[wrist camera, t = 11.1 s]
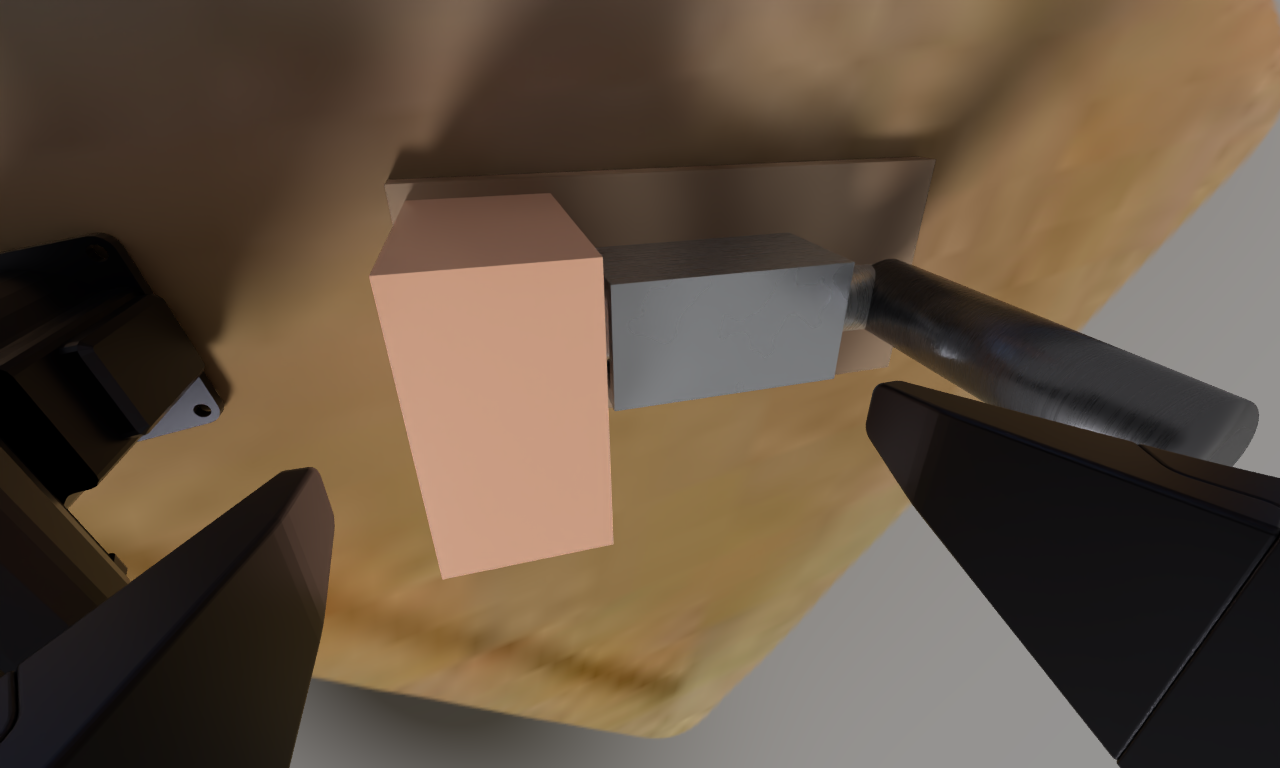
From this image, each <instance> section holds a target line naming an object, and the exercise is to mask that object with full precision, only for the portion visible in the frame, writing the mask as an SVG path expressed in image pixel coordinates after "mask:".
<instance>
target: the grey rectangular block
mask: <svg viewBox="0 0 1280 768" xmlns="http://www.w3.org/2000/svg"><path fill="white" fill-rule="evenodd" d="M595 248H596V249H597V251H598V252H599V253H600V254H601V255H602V257H603V275H604V292H605V293H606V295H607V297H608V326H609V356H610V361H607V384H608V398H609V400H610V402H611V404H612V407H613V409H614V411H619V410H626V409H633V408H639V407H646V406H653V405H660V404H666V403H673V402H680V401H686V400H693V399H700V398H707V397H713V396H720V395H727V394H734V393H740V392H747V391H754V390H760V389H767V388H774V387H781V386H787V385H794V384H801V383H807V382H814V381H821V380H828V379H834V375H835V370H836V364H837V359H838V353H839V348H840V342H841V337H842V331H843V326H844V320H845V315H846V309H847V304H848V298H849V292H850V287H851V281H852V276H853V270H854V265H855V262H853V261H851V260H849V259H847V258H845V257H842V256H840V255H838V254H836V253H834V252H831V251H829V250H827V249H825V248H823V247H820V246H818V245H816V244H814V243H812V242H809V241H807V240H805V239H803V238H800V237H798V236H796V235H794V234H792V233H776V234H763V235H750V236H737V237H724V238H711V239H698V240H685V241H672V242H659V243H646V244H633V245H620V246H607V247H595Z"/></svg>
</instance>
